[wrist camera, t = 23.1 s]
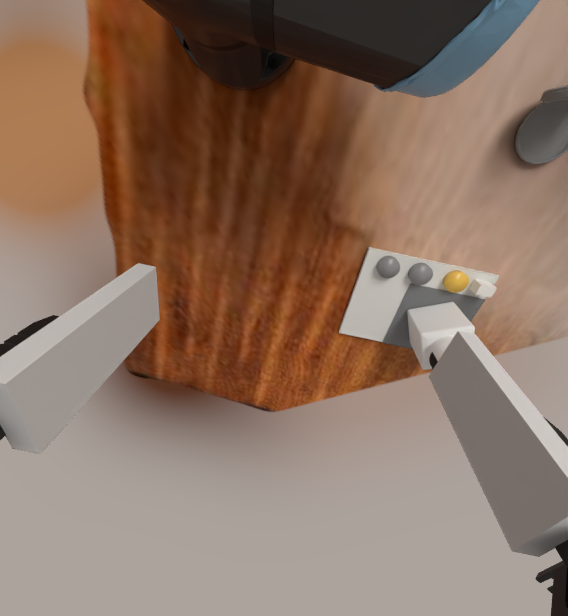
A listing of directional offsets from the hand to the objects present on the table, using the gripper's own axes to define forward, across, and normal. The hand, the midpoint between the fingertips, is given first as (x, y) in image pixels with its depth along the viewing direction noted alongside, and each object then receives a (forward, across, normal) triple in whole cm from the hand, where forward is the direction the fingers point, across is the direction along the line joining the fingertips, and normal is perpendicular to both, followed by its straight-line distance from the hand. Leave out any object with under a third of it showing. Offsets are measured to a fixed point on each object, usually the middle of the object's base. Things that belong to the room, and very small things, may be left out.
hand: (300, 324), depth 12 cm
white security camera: (+31, +24, -15) cm, 42 cm away
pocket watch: (+32, +25, +14) cm, 43 cm away
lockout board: (+32, +20, -13) cm, 40 cm away
